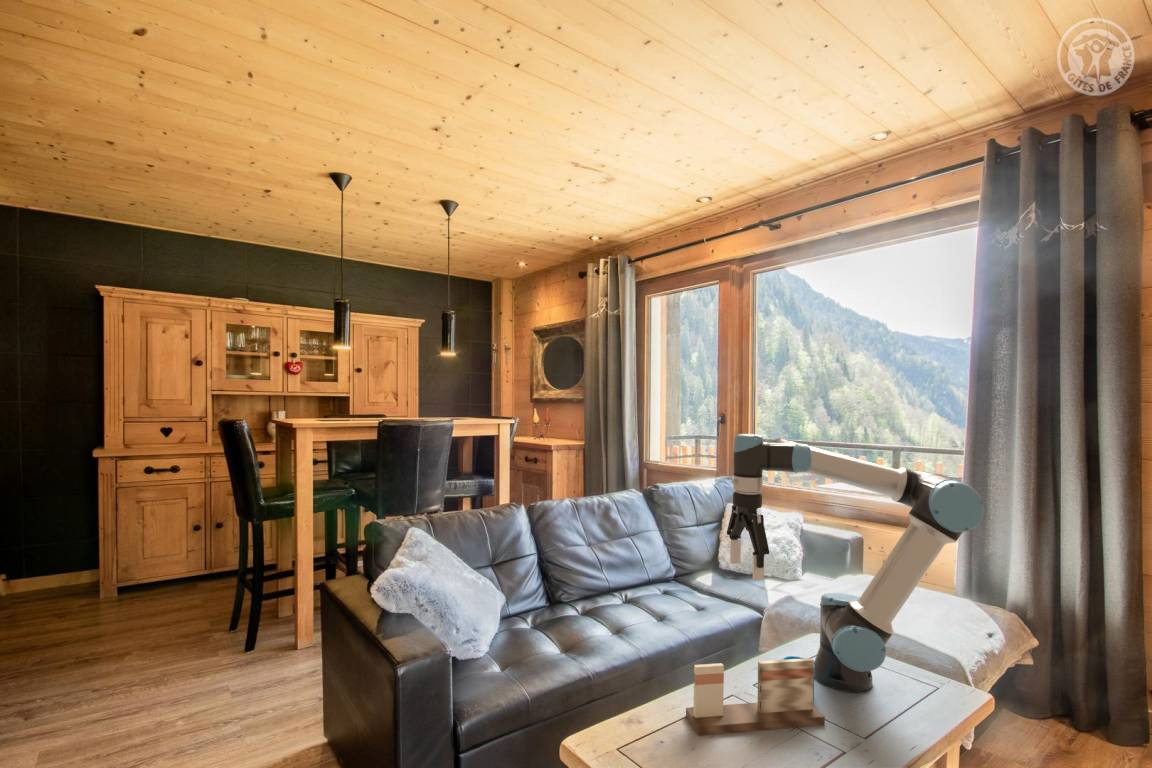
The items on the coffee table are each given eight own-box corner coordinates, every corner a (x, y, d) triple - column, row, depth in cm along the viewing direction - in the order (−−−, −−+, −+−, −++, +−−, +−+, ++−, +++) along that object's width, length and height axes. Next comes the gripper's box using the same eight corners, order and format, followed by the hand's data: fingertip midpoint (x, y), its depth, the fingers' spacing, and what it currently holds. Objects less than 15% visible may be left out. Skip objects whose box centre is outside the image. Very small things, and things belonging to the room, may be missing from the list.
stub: (720, 712, 139) (721, 663, 139) (723, 715, 138) (723, 665, 138) (693, 714, 138) (694, 664, 138) (695, 718, 137) (696, 667, 137)
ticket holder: (806, 706, 146) (807, 651, 146) (824, 725, 139) (825, 666, 139) (685, 715, 141) (686, 658, 141) (697, 735, 134) (698, 675, 134)
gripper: (715, 484, 166) (714, 557, 166) (755, 501, 142) (754, 587, 142) (740, 483, 168) (739, 556, 167) (784, 500, 143) (783, 586, 143)
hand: (746, 571), depth 155 cm, fingers open, 13 cm apart
